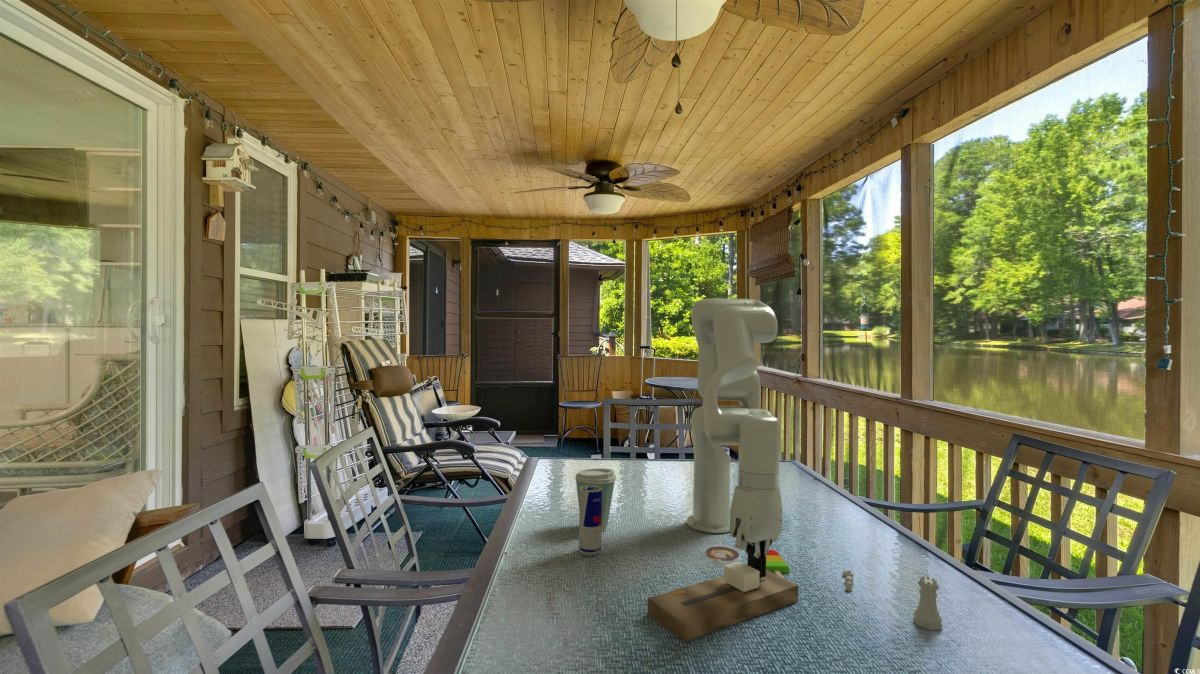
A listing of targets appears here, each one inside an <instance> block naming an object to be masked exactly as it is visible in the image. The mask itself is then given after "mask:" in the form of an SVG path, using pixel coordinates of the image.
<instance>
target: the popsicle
mask: <svg viewBox="0 0 1200 674" xmlns="http://www.w3.org/2000/svg"><path fill="white" fill-rule="evenodd" d="M765 556H766V555H765ZM766 570H768V571H770V572H772V573H774V574H776V575H778V576H780V577H782V578H784V579H785V577H784V576H783V574H790V567H789V565H788V564H787V563H786V561H785V560H784V559H783V557H782V556H781V555H780V553H779V552H778V551H777V550H774V549H769V554H768V555H767V556H766Z"/></svg>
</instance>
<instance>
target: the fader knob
mask: <svg viewBox="0 0 1200 674" xmlns="http://www.w3.org/2000/svg"><path fill="white" fill-rule="evenodd" d="M759 574H760V571H758V570H756V569H754V568H752V567H750V566H748V565H747V564H746V563H745V562H742V561H737V562H732V563H730V564H726V565H724V574H723V576H724V581H725V582H726V583H728V584H730V585H732V586H734V587H735V588H737V589H739V590H741V591H743V592H746V591H749V590H752V589H755V588H758V587H759Z"/></svg>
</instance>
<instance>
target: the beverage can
mask: <svg viewBox="0 0 1200 674" xmlns="http://www.w3.org/2000/svg"><path fill="white" fill-rule="evenodd" d="M578 519H579V522H578V523H579V524H578V527H579V529H578V550H579V551H580V553H581V554H582V555H584V556H588V557H592V556H593V555H594V556H596V554H597V555H598V554H599V553H600V552H601V550H602V532H601V530H602V487H600V486H596V485H585V486H582V487H580V512H579V518H578ZM594 556H593V557H594Z"/></svg>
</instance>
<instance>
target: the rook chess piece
mask: <svg viewBox="0 0 1200 674" xmlns="http://www.w3.org/2000/svg"><path fill="white" fill-rule="evenodd" d="M917 584H918V586H919V587H920V589H919V590H918V593H919V594H920V595H919V596H920V597H919V602H918V606H917V607H916V609H915V610H913V617H912V619H913V621H914V623H915V624H916V626H918V627H920V628H922V629H923V630H928V631H933V632H934V631H935V632H936V631H939V630H941V628H943V624H942V622H943V618H942V616H941V615H940V611H939V610H938V605H937V597H938V593H937V590H939V589H940V586H939V584H938V580H936V579H935V578H934V577H932V578H930V576H926V578H925V576H924V575H923V576H921V577H920V578H919V580H918V581H917Z"/></svg>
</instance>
